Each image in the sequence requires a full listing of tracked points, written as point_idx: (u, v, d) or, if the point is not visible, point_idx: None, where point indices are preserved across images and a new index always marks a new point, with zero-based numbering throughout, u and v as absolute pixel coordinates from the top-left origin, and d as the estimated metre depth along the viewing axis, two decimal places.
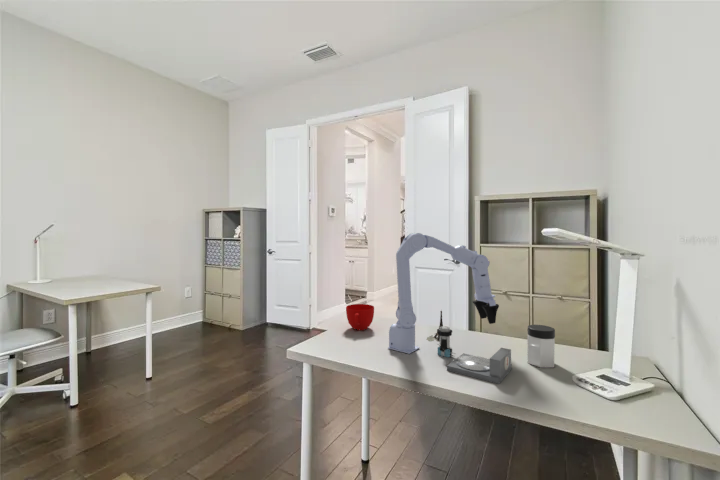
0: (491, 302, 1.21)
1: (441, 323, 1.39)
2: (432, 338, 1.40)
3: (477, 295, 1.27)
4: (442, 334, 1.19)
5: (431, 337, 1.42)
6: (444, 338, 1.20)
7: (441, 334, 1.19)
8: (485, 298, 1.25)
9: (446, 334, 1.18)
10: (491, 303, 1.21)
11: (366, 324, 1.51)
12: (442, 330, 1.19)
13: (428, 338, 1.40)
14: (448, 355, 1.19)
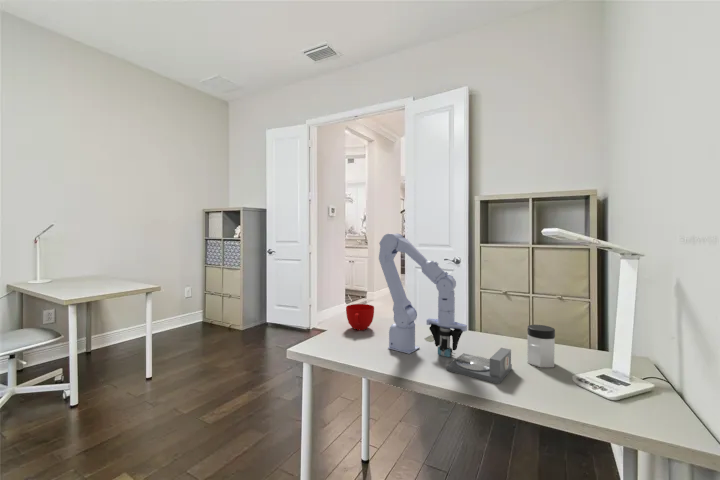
0: (465, 327, 1.16)
1: None
2: (431, 338, 1.40)
3: (445, 320, 1.18)
4: (443, 334, 1.19)
5: (430, 337, 1.42)
6: (444, 338, 1.20)
7: (442, 334, 1.19)
8: (453, 323, 1.18)
9: (447, 334, 1.18)
10: (465, 328, 1.15)
11: (366, 324, 1.51)
12: (443, 330, 1.19)
13: (427, 338, 1.40)
14: (448, 355, 1.19)
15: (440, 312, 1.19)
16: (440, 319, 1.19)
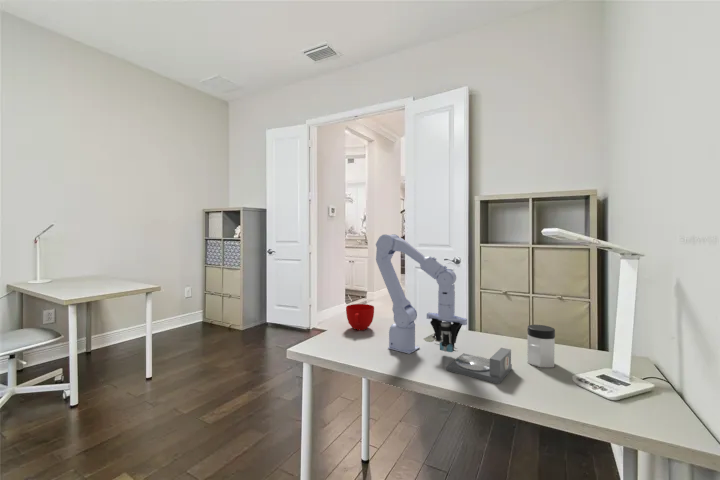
0: (465, 321, 1.15)
1: None
2: (431, 338, 1.40)
3: (445, 314, 1.18)
4: (444, 329, 1.18)
5: (430, 337, 1.42)
6: (446, 333, 1.20)
7: (443, 329, 1.19)
8: (453, 317, 1.18)
9: (448, 329, 1.18)
10: (465, 322, 1.15)
11: (366, 324, 1.51)
12: (444, 325, 1.19)
13: (427, 338, 1.40)
14: (450, 350, 1.19)
15: (440, 306, 1.19)
16: (440, 313, 1.19)
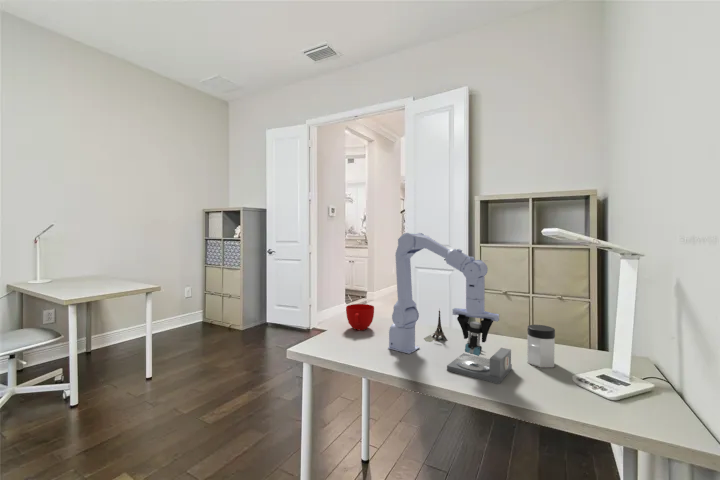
0: (497, 317, 1.04)
1: (439, 323, 1.39)
2: (430, 338, 1.40)
3: (474, 309, 1.06)
4: (474, 331, 1.07)
5: (429, 337, 1.42)
6: (474, 335, 1.09)
7: (472, 330, 1.07)
8: (483, 313, 1.07)
9: (478, 331, 1.07)
10: (497, 318, 1.04)
11: (366, 324, 1.51)
12: (474, 326, 1.08)
13: (426, 338, 1.40)
14: (478, 353, 1.08)
15: (469, 300, 1.07)
16: (469, 308, 1.07)
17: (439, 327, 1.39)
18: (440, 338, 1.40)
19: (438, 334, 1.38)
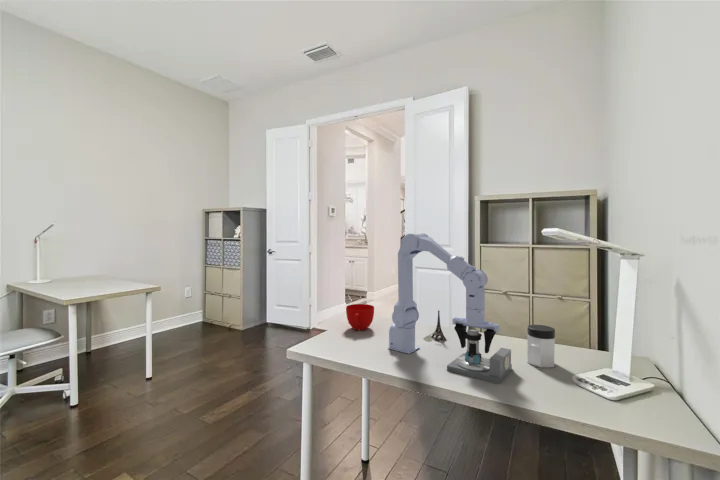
0: (497, 327, 1.04)
1: (439, 323, 1.39)
2: (430, 338, 1.40)
3: (474, 319, 1.06)
4: (471, 338, 1.08)
5: (428, 337, 1.42)
6: (473, 342, 1.09)
7: (470, 338, 1.08)
8: (483, 323, 1.07)
9: (476, 338, 1.07)
10: (497, 328, 1.04)
11: (366, 324, 1.51)
12: (471, 334, 1.08)
13: (426, 338, 1.40)
14: (478, 361, 1.08)
15: (469, 310, 1.07)
16: (469, 318, 1.07)
17: (438, 327, 1.39)
18: (439, 338, 1.40)
19: (437, 334, 1.38)
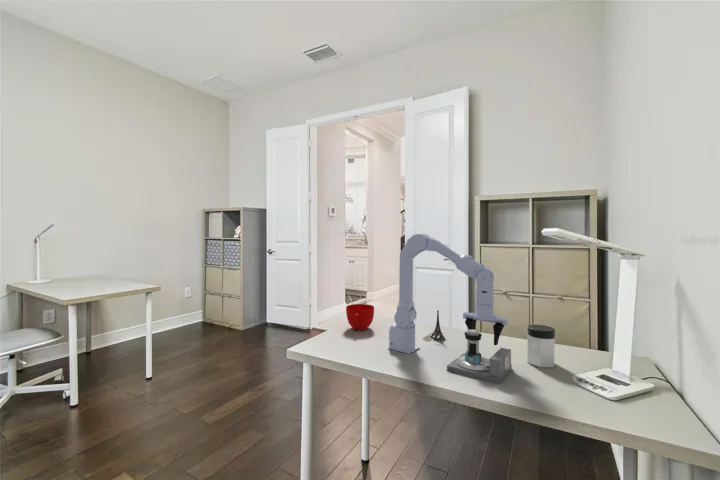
0: (506, 321, 1.11)
1: (438, 323, 1.39)
2: (429, 338, 1.40)
3: (484, 314, 1.14)
4: (471, 338, 1.08)
5: (428, 337, 1.42)
6: (473, 342, 1.09)
7: (470, 338, 1.08)
8: (492, 317, 1.14)
9: (476, 338, 1.07)
10: (506, 322, 1.11)
11: (366, 324, 1.51)
12: (471, 334, 1.08)
13: (425, 338, 1.40)
14: (478, 361, 1.08)
15: (479, 305, 1.15)
16: (479, 313, 1.15)
17: (438, 327, 1.39)
18: (438, 338, 1.40)
19: (437, 334, 1.38)
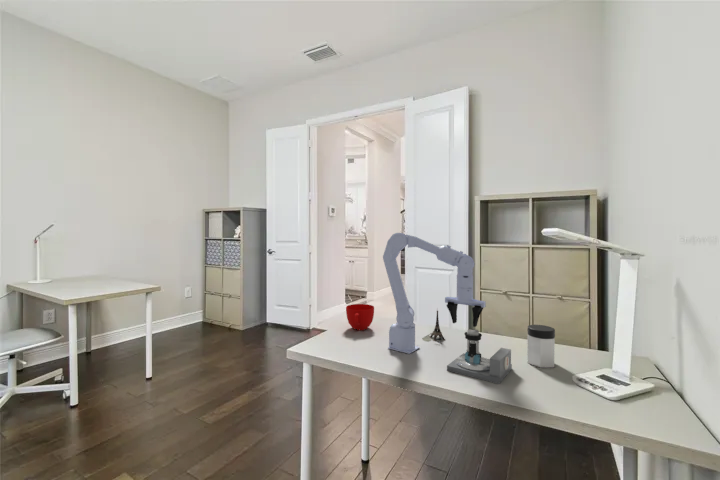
0: (484, 303, 1.18)
1: (437, 323, 1.40)
2: (428, 338, 1.41)
3: (463, 297, 1.21)
4: (471, 338, 1.08)
5: (427, 337, 1.42)
6: (473, 342, 1.09)
7: (470, 338, 1.08)
8: (471, 300, 1.21)
9: (476, 338, 1.07)
10: (484, 304, 1.18)
11: (366, 324, 1.51)
12: (471, 334, 1.08)
13: (424, 338, 1.40)
14: (478, 361, 1.08)
15: (459, 289, 1.22)
16: (459, 296, 1.22)
17: (437, 327, 1.39)
18: (438, 338, 1.41)
19: (436, 334, 1.38)
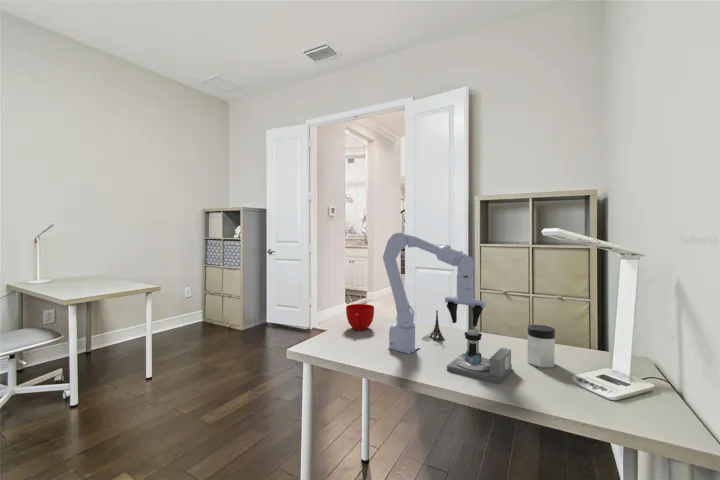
0: (484, 303, 1.18)
1: (437, 323, 1.40)
2: (428, 338, 1.41)
3: (463, 297, 1.21)
4: (471, 338, 1.08)
5: (427, 337, 1.42)
6: (473, 342, 1.09)
7: (470, 338, 1.08)
8: (471, 300, 1.21)
9: (476, 338, 1.07)
10: (484, 304, 1.18)
11: (366, 324, 1.51)
12: (471, 334, 1.08)
13: (424, 338, 1.40)
14: (478, 361, 1.08)
15: (459, 289, 1.22)
16: (459, 296, 1.22)
17: (437, 327, 1.39)
18: (437, 338, 1.41)
19: (436, 334, 1.38)
